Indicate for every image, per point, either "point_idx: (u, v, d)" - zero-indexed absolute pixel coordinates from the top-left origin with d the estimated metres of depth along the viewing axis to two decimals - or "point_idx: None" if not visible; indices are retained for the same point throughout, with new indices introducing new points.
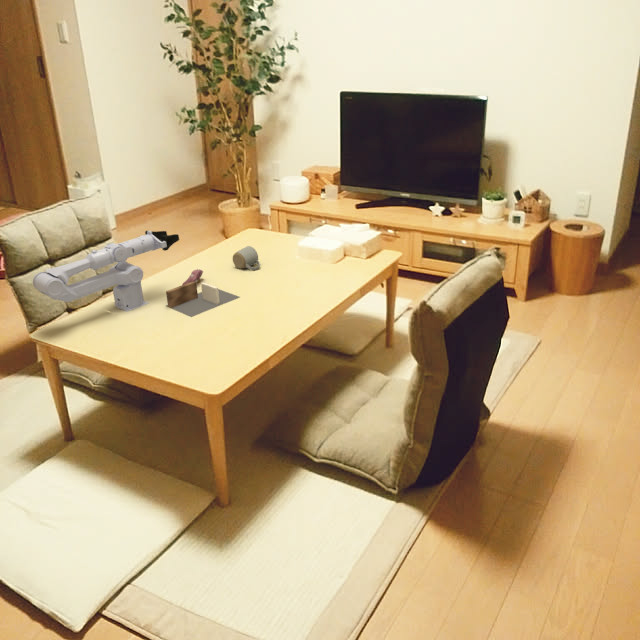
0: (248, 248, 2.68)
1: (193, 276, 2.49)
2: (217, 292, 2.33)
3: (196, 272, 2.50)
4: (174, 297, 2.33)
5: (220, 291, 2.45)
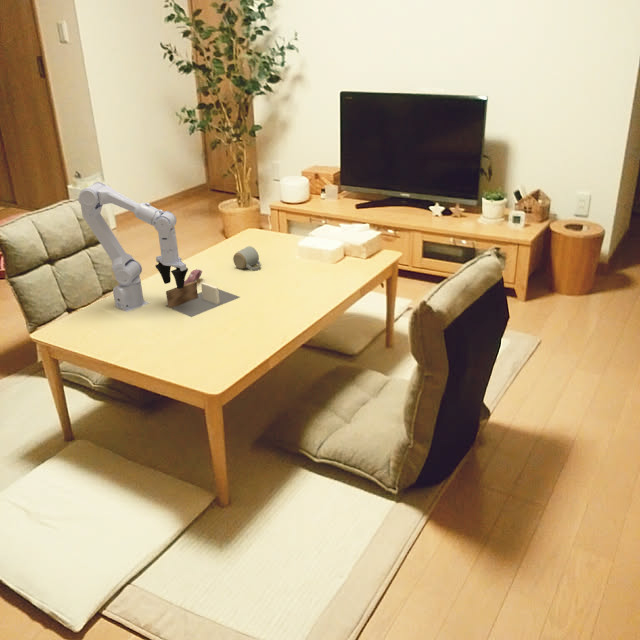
0: (249, 248, 2.68)
1: (192, 276, 2.49)
2: (217, 292, 2.33)
3: (195, 272, 2.50)
4: (174, 297, 2.33)
5: (220, 291, 2.45)
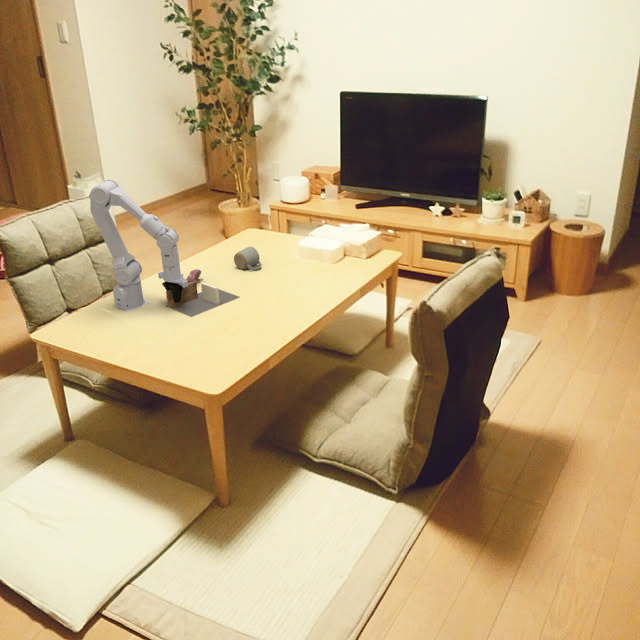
0: (249, 248, 2.68)
1: (191, 276, 2.49)
2: (217, 292, 2.33)
3: (194, 272, 2.50)
4: None
5: (220, 291, 2.45)
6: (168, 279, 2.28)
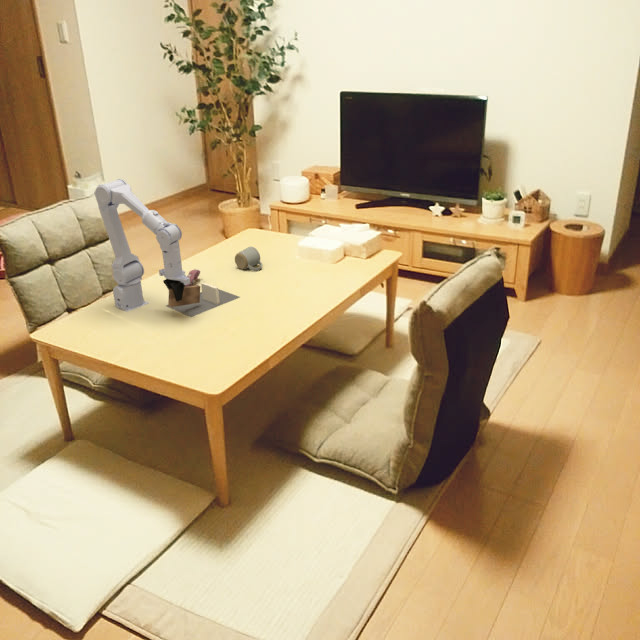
0: (250, 249, 2.67)
1: (190, 276, 2.49)
2: (217, 292, 2.33)
3: (193, 272, 2.50)
4: None
5: (220, 291, 2.45)
6: (169, 276, 2.19)
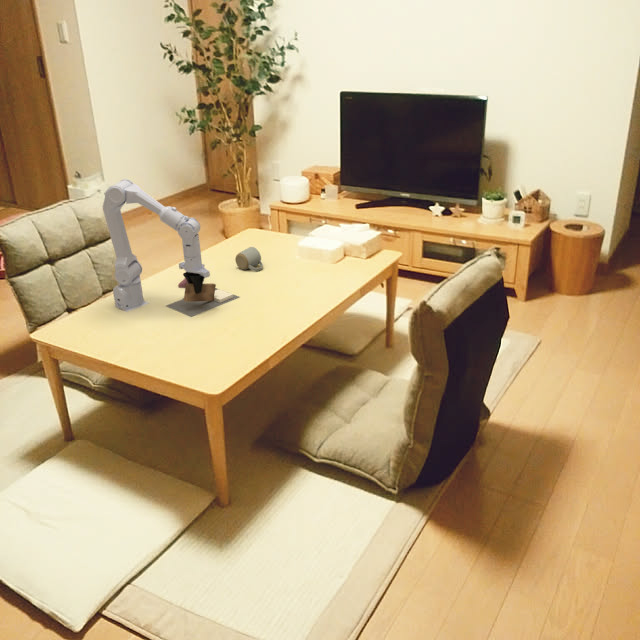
0: (251, 249, 2.67)
1: None
2: (229, 297, 2.38)
3: None
4: (192, 292, 2.29)
5: None
6: (189, 269, 2.25)
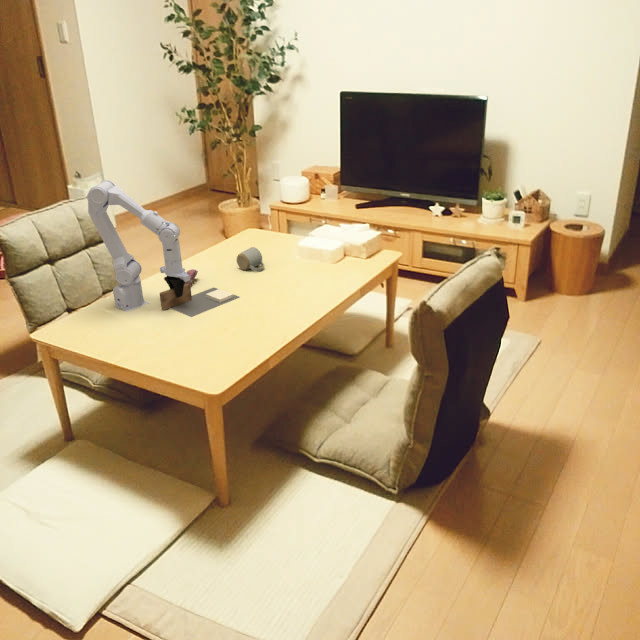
0: (252, 249, 2.67)
1: None
2: (229, 297, 2.38)
3: (191, 272, 2.51)
4: (168, 299, 2.31)
5: None
6: (170, 273, 2.28)
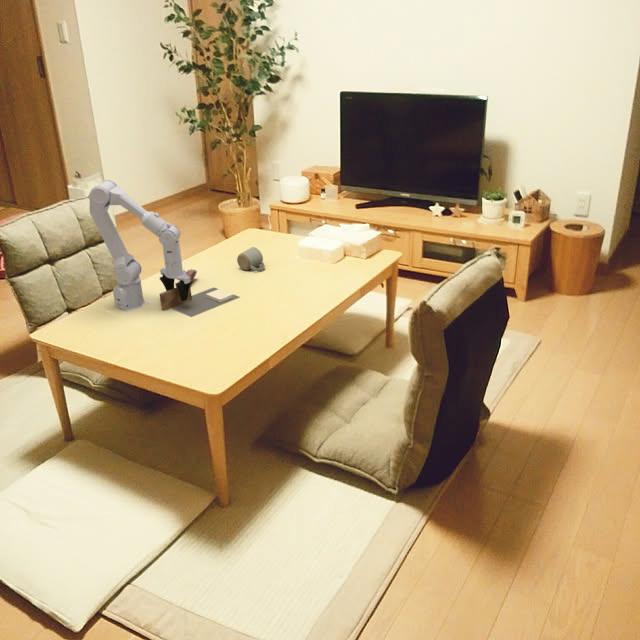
0: (253, 249, 2.67)
1: None
2: (229, 297, 2.38)
3: (190, 272, 2.51)
4: (168, 299, 2.31)
5: None
6: (170, 275, 2.28)
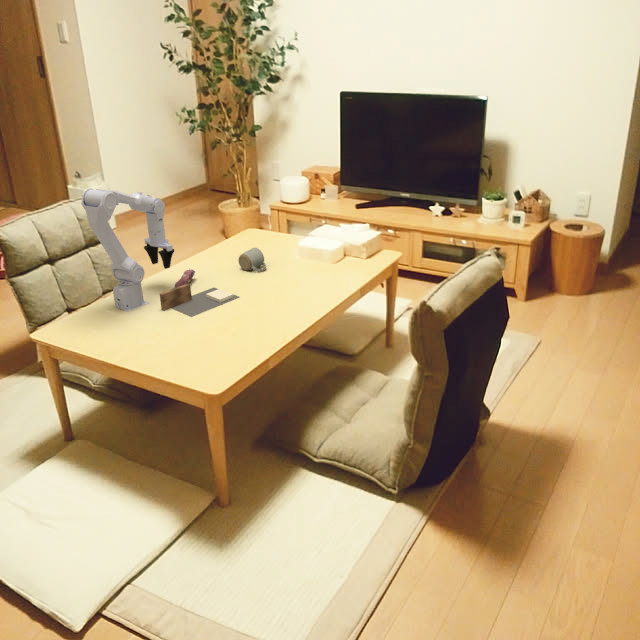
0: (254, 250, 2.66)
1: (185, 276, 2.49)
2: (229, 297, 2.38)
3: (188, 272, 2.51)
4: (168, 299, 2.31)
5: None
6: (153, 244, 2.40)
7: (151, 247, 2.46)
